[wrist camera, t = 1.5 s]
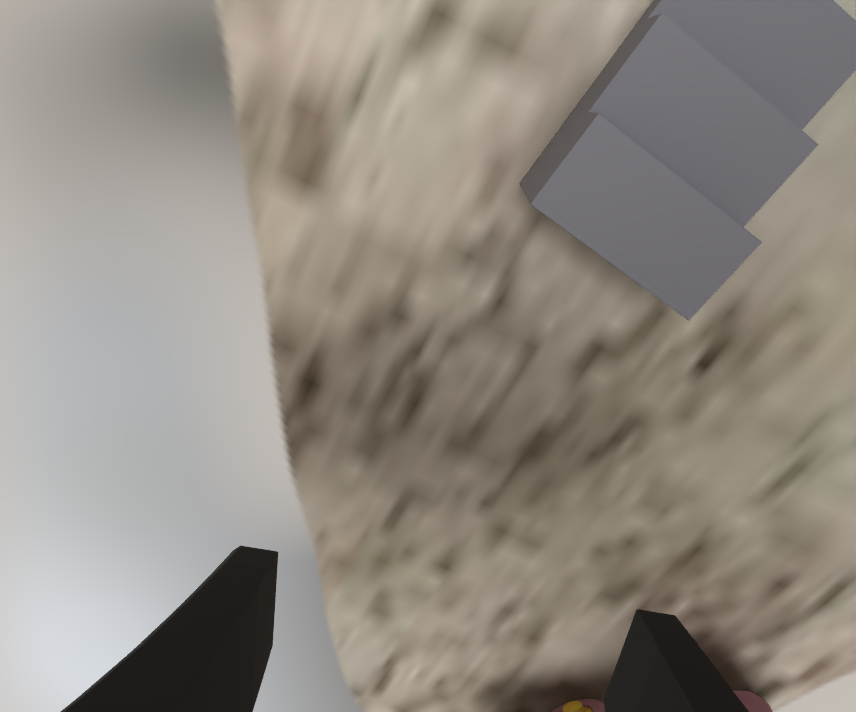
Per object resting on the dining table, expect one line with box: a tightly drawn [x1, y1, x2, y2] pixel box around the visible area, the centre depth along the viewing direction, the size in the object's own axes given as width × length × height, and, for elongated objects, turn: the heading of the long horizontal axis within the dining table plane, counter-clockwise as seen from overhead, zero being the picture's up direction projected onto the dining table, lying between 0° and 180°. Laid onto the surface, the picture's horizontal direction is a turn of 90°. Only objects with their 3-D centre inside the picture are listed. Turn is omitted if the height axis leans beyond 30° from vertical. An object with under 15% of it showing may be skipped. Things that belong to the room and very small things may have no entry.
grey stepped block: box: [520, 0, 856, 321], centre depth 14 cm, size 4×7×4 cm, turn 146°
